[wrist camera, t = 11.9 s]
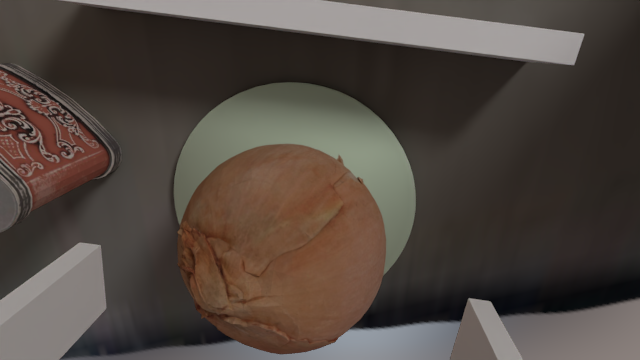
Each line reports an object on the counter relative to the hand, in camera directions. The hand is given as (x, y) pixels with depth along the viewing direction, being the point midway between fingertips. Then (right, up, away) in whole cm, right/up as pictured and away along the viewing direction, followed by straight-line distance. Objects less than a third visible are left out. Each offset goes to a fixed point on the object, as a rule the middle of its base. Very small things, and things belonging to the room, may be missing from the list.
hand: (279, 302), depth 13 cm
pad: (0, +3, +9) cm, 9 cm away
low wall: (+1, +12, +5) cm, 14 cm away
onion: (0, +3, +8) cm, 9 cm away
